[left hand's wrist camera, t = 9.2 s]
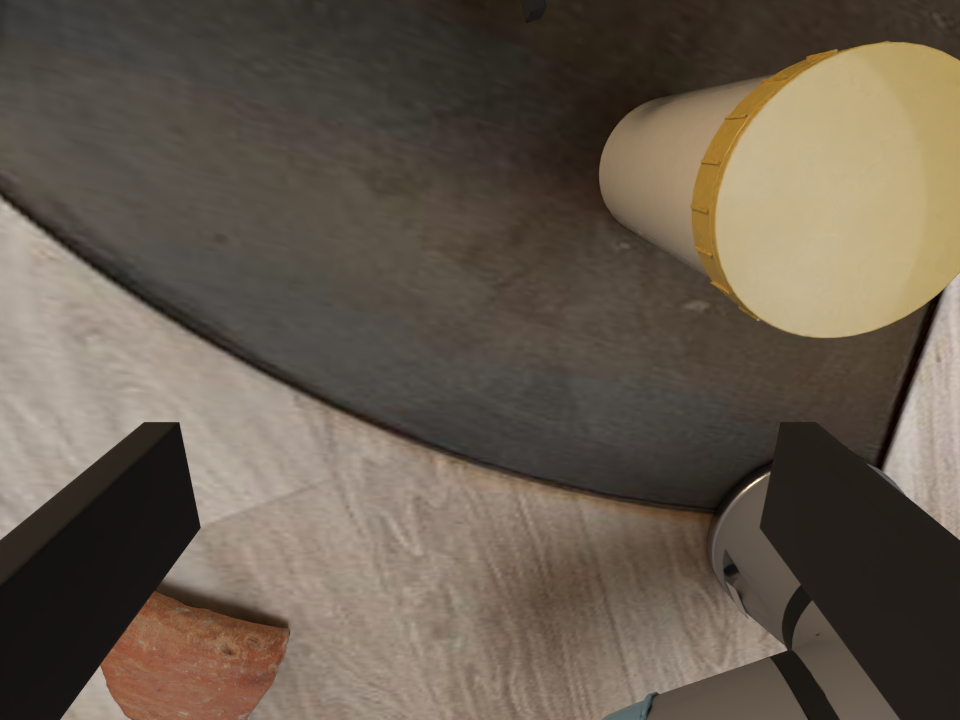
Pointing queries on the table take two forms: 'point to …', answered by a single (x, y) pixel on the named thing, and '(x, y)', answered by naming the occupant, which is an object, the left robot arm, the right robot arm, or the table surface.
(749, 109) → the lid
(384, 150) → the table surface
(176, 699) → the ceramic shard
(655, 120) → the jar
